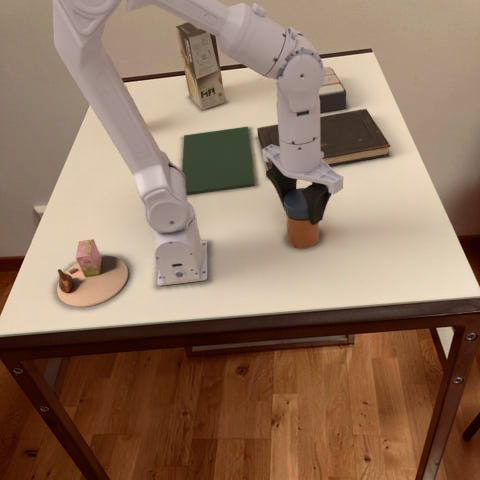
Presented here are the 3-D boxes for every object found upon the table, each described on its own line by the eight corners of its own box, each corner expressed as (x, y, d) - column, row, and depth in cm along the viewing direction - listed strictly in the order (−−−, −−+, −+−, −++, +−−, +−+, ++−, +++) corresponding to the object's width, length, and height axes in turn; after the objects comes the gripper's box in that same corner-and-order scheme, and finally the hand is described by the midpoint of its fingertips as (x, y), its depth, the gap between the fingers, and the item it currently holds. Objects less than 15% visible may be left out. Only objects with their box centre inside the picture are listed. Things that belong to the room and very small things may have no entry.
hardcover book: (389, 156, 97) (390, 145, 95) (270, 177, 97) (269, 166, 95) (364, 117, 107) (365, 107, 106) (257, 136, 108) (256, 126, 106)
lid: (306, 193, 82) (306, 183, 80) (327, 209, 78) (327, 199, 77) (277, 206, 80) (276, 196, 79) (297, 224, 77) (297, 214, 76)
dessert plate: (62, 261, 87) (52, 241, 84) (131, 251, 87) (123, 230, 84) (51, 312, 79) (39, 291, 76) (127, 300, 79) (118, 279, 76)
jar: (321, 246, 82) (321, 210, 77) (289, 250, 82) (287, 214, 77) (316, 226, 85) (315, 190, 80) (285, 230, 86) (283, 195, 80)
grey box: (332, 64, 118) (347, 88, 108) (332, 83, 121) (346, 108, 111) (285, 71, 119) (295, 96, 108) (286, 90, 122) (296, 116, 111)
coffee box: (226, 102, 120) (216, 28, 108) (202, 111, 119) (188, 37, 107) (211, 89, 126) (200, 17, 114) (188, 96, 125) (173, 25, 113)
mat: (254, 185, 96) (254, 183, 95) (181, 195, 97) (180, 192, 96) (248, 129, 110) (247, 126, 110) (184, 137, 111) (184, 135, 111)
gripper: (359, 137, 68) (355, 220, 78) (283, 108, 76) (288, 186, 86) (323, 160, 65) (323, 243, 75) (248, 127, 73) (258, 205, 83)
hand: (303, 214), depth 80 cm, fingers closed on lid, 5 cm apart
